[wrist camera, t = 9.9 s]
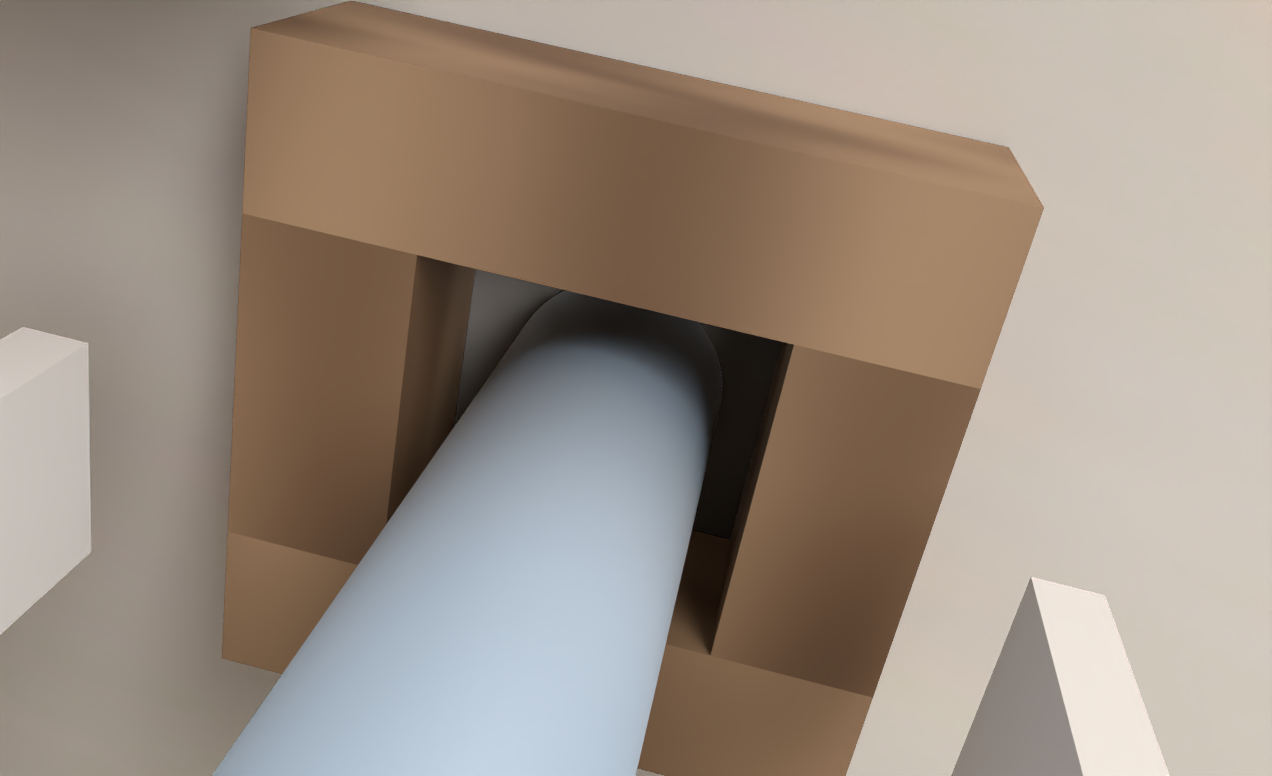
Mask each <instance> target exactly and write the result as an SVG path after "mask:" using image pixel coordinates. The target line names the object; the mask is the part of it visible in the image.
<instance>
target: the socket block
mask: <svg viewBox="0 0 1272 776" xmlns="http://www.w3.org/2000/svg"><path fill="white" fill-rule="evenodd" d="M1043 209H1044V207H1043V205H1042V204H1041V202H1040V200H1039V198H1038V197H1037V195H1036V193H1035V192H1034V190H1033V188H1032V186H1031V185H1030V183H1029V181H1028V179H1027V178H1026V176H1025V174H1024V173H1023V171H1022V169H1021V167H1020V166H1019V164H1018V162H1017V161H1016V159H1015V157H1014V155H1013V154H1012V152H1011V150H1010V149H1009V148H1008V147H1004V146H999V145H995V144H991V143H986V142H982V141H977V140H973V139H968V138H964V137H959V136H955V135H950V134H946V133H941V132H937V131H932V130H928V129H923V128H919V127H914V126H910V125H906V124H901V123H897V122H892V121H888V120H883V119H879V118H874V117H870V116H865V115H861V114H856V113H852V112H847V111H843V110H838V109H834V108H830V107H825V106H821V105H816V104H812V103H807V102H803V101H798V100H794V99H789V98H785V97H780V96H776V95H771V94H767V93H762V92H758V91H753V90H749V89H745V88H740V87H736V86H731V85H727V84H722V83H718V82H713V81H709V80H704V79H700V78H695V77H691V76H686V75H682V74H677V73H673V72H668V71H664V70H660V69H655V68H651V67H646V66H642V65H637V64H633V63H628V62H624V61H619V60H615V59H610V58H606V57H601V56H597V55H592V54H588V53H583V52H579V51H575V50H570V49H566V48H561V47H557V46H552V45H548V44H543V43H539V42H534V41H530V40H525V39H521V38H516V37H512V36H507V35H503V34H499V33H494V32H490V31H485V30H481V29H476V28H472V27H467V26H463V25H458V24H454V23H449V22H445V21H440V20H436V19H431V18H427V17H422V16H418V15H414V14H409V13H405V12H400V11H396V10H391V9H387V8H382V7H378V6H373V5H369V4H364V3H360V2H355V1H348V2H344V3H341V4H337V5H333V6H330V7H326V8H322V9H319V10H315V11H311V12H308V13H304V14H300V15H297V16H293V17H289V18H286V19H282V20H278V21H275V22H271V23H267V24H264V25H260V26H256V27H253V28H251V34H250V56H249V78H248V100H247V121H246V143H245V165H244V187H243V209H242V230H241V252H240V274H239V296H238V318H237V339H236V361H235V383H234V405H233V427H232V448H231V470H230V492H229V514H228V536H227V558H226V579H225V601H224V623H223V645H222V658H224V659H227V660H231V661H235V662H239V663H242V664H246V665H250V666H254V667H257V668H261V669H265V670H269V671H273V672H276V673H280V674H283V672H284V671H285V669H286V668H287V667H288V665H289V664H290V662H291V661H292V659H293V658H294V656H295V655H296V654H297V652H298V651H299V649H300V648H301V646H302V645H303V644H304V642H305V641H306V639H307V638H308V636H309V635H310V633H311V632H312V631H313V629H314V628H315V626H316V625H317V623H318V622H319V621H320V619H321V618H322V616H323V615H324V613H325V612H326V610H327V609H328V608H329V606H330V605H331V603H332V602H333V600H334V599H335V598H336V596H337V595H338V593H339V592H340V590H341V589H342V587H343V586H344V585H345V583H346V582H347V580H348V579H349V577H350V576H351V575H352V573H353V572H354V570H355V569H356V567H357V566H358V564H359V563H360V562H361V560H362V559H363V557H364V556H365V554H366V553H367V552H368V550H369V549H370V547H371V546H372V544H373V543H374V541H375V540H376V539H377V537H378V536H379V534H380V533H381V531H382V530H383V529H384V527H385V526H386V524H387V523H388V521H389V520H390V518H391V517H392V516H393V514H394V513H395V511H396V510H397V508H398V507H399V506H400V504H401V503H402V501H403V500H404V498H405V497H406V495H407V494H408V493H409V491H410V490H411V488H412V487H413V485H414V484H415V483H416V481H417V480H418V478H419V477H420V475H421V474H422V472H423V471H424V470H425V468H426V467H427V465H428V464H429V462H430V461H431V460H432V458H433V457H434V455H435V454H436V452H437V451H438V449H439V448H440V447H441V445H442V444H443V442H444V441H445V439H446V438H447V437H448V435H449V434H450V432H451V431H452V429H453V428H454V421H455V414H456V407H457V399H458V392H459V385H460V377H461V370H462V363H463V356H464V348H465V341H466V334H467V326H468V319H469V312H470V305H471V297H472V290H473V283H474V275H475V269H478V270H482V271H487V272H491V273H495V274H499V275H504V276H508V277H512V278H516V279H520V280H525V281H529V282H533V283H537V284H541V285H546V286H550V287H554V288H558V289H562V290H567V291H571V292H575V293H579V294H583V295H588V296H592V297H596V298H600V299H604V300H609V301H613V302H617V303H621V304H625V305H630V306H634V307H638V308H642V309H646V310H651V311H655V312H659V313H663V314H667V315H672V316H676V317H680V318H684V319H688V320H693V321H697V322H701V323H705V324H709V325H714V326H718V327H722V328H726V329H730V330H735V331H739V332H743V333H747V334H751V335H756V336H760V337H764V338H768V339H773V340H777V341H781V342H782V345H781V349H780V353H779V357H778V361H777V364H776V368H775V372H774V376H773V379H772V383H771V387H770V391H769V395H768V398H767V402H766V406H765V410H764V414H763V417H762V421H761V425H760V429H759V433H758V436H757V440H756V444H755V448H754V451H753V455H752V459H751V463H750V467H749V470H748V474H747V478H746V482H745V486H744V489H743V493H742V497H741V501H740V505H739V508H738V512H737V516H736V520H735V523H734V527H733V531H732V535H731V539H730V540H729V539H725V538H721V537H717V536H713V535H709V534H705V533H701V532H697V531H693V530H692V532H691V536H690V541H689V545H688V549H687V554H686V558H685V562H684V567H683V571H682V576H681V580H680V584H679V589H678V593H677V597H676V602H675V606H674V610H673V615H672V619H671V623H670V628H669V632H668V637H667V641H666V645H665V650H664V654H663V658H662V663H661V667H660V671H659V676H658V680H657V685H656V689H655V693H654V698H653V702H652V706H651V711H650V715H649V719H648V724H647V728H646V732H645V737H644V741H643V746H642V750H641V754H640V759H639V763H638V767H637V768H638V769H642V770H646V771H650V772H654V773H657V774H661V775H665V776H846V773H847V770H848V767H849V764H850V761H851V758H852V756H853V753H854V750H855V747H856V744H857V741H858V738H859V735H860V733H861V730H862V727H863V724H864V721H865V718H866V715H867V713H868V710H869V707H870V704H871V701H872V698H873V695H874V693H875V690H876V687H877V684H878V681H879V678H880V675H881V673H882V670H883V667H884V664H885V661H886V658H887V655H888V653H889V650H890V647H891V644H892V641H893V638H894V635H895V633H896V630H897V627H898V624H899V621H900V618H901V615H902V612H903V610H904V607H905V604H906V601H907V598H908V595H909V592H910V590H911V587H912V584H913V581H914V578H915V575H916V572H917V570H918V567H919V564H920V561H921V558H922V555H923V552H924V550H925V547H926V544H927V541H928V538H929V535H930V532H931V530H932V527H933V524H934V521H935V518H936V515H937V512H938V510H939V507H940V504H941V501H942V498H943V495H944V492H945V489H946V487H947V484H948V481H949V478H950V475H951V472H952V469H953V467H954V464H955V461H956V458H957V455H958V452H959V449H960V447H961V444H962V441H963V438H964V435H965V432H966V429H967V427H968V424H969V421H970V418H971V415H972V412H973V409H974V407H975V404H976V401H977V398H978V395H979V392H980V389H981V387H982V384H983V381H984V378H985V375H986V372H987V369H988V366H989V364H990V361H991V358H992V355H993V352H994V349H995V346H996V344H997V341H998V338H999V335H1000V332H1001V329H1002V326H1003V324H1004V321H1005V318H1006V315H1007V312H1008V309H1009V306H1010V304H1011V301H1012V298H1013V295H1014V292H1015V289H1016V286H1017V284H1018V281H1019V278H1020V275H1021V272H1022V269H1023V266H1024V264H1025V261H1026V258H1027V255H1028V252H1029V249H1030V246H1031V243H1032V241H1033V238H1034V235H1035V232H1036V229H1037V226H1038V223H1039V221H1040V218H1041V215H1042V212H1043Z"/></svg>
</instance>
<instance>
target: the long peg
mask: <svg viewBox="0 0 1272 776" xmlns="http://www.w3.org/2000/svg"><path fill="white" fill-rule="evenodd" d="M722 385H723V383H722V373H721V367H720V363H719V359H718V356H717V354H716V351H715V349H714V346H713V344H712V342H711V340H710V339H709V337H708V335H707V333H706V332H705V330H704V329H703V328H702V326H701V325H700V324H699V322H697V321H693V320H688V319H684V318H680V317H676V316H672V315H667V314H663V313H659V312H655V311H651V310H646V309H642V308H638V307H634V306H630V305H625V304H621V303H617V302H613V301H609V300H604V299H600V298H596V297H592V296H588V295H583V294H579V293H575V292H571V291H567V290H565V291H563V292H561V293H559V294H557V295H555V296H554V297H552V298H551V299H549V300H548V301H547V302H545V303H544V304H543V305H542V306H541V307H540V308H539V309H538V310H537V311H536V312H535V313H534V314H533V315H532V316H531V318H530V319H529V320H528V321H527V323H526V324H525V326H524V327H523V329H522V330H521V332H520V333H519V334H518V336H517V337H516V339H515V340H514V342H513V343H512V344H511V346H510V347H509V349H508V350H507V352H506V353H505V355H504V356H503V357H502V359H501V360H500V362H499V363H498V365H497V366H496V367H495V369H494V370H493V372H492V373H491V375H490V376H489V378H488V379H487V380H486V382H485V383H484V385H483V386H482V388H481V389H480V391H479V392H478V393H477V395H476V396H475V398H474V399H473V401H472V402H471V403H470V405H469V406H468V408H467V409H466V411H465V412H464V414H463V415H462V416H461V418H460V419H459V421H458V422H457V424H456V425H455V426H454V428H453V429H452V431H451V432H450V434H449V435H448V437H447V438H446V439H445V441H444V442H443V444H442V445H441V447H440V448H439V449H438V451H437V452H436V454H435V455H434V457H433V458H432V460H431V461H430V462H429V464H428V465H427V467H426V468H425V470H424V471H423V472H422V474H421V475H420V477H419V478H418V480H417V481H416V483H415V484H414V485H413V487H412V488H411V490H410V491H409V493H408V494H407V495H406V497H405V498H404V500H403V501H402V503H401V504H400V506H399V507H398V508H397V510H396V511H395V513H394V514H393V516H392V517H391V518H390V520H389V521H388V523H387V524H386V526H385V527H384V529H383V530H382V531H381V533H380V534H379V536H378V537H377V539H376V540H375V541H374V543H373V544H372V546H371V547H370V549H369V550H368V552H367V553H366V554H365V556H364V557H363V559H362V560H361V562H360V563H359V564H358V566H357V567H356V569H355V570H354V572H353V573H352V575H351V576H350V577H349V579H348V580H347V582H346V583H345V585H344V586H343V587H342V589H341V590H340V592H339V593H338V595H337V596H336V598H335V599H334V600H333V602H332V603H331V605H330V606H329V608H328V609H327V610H326V612H325V613H324V615H323V616H322V618H321V619H320V621H319V622H318V623H317V625H316V626H315V628H314V629H313V631H312V632H311V633H310V635H309V636H308V638H307V639H306V641H305V642H304V644H303V645H302V646H301V648H300V649H299V651H298V652H297V654H296V655H295V656H294V658H293V659H292V661H291V662H290V664H289V665H288V667H287V668H286V669H285V671H284V672H283V674H282V675H281V677H280V678H279V679H278V681H277V682H276V684H275V685H274V687H273V688H272V690H271V691H270V692H269V694H268V695H267V697H266V698H265V700H264V701H263V702H262V704H261V705H260V707H259V708H258V710H257V711H256V713H255V714H254V715H253V717H252V718H251V720H250V721H249V723H248V724H247V725H246V727H245V728H244V730H243V731H242V733H241V734H240V736H239V737H238V738H237V740H236V741H235V743H234V744H233V746H232V747H231V748H230V750H229V751H228V753H227V754H226V756H225V757H224V759H223V760H222V761H221V763H220V764H219V766H218V767H217V769H216V770H215V771H214V773H213V774H212V776H636V772H637V767H638V763H639V759H640V754H641V750H642V746H643V741H644V737H645V732H646V728H647V724H648V719H649V715H650V711H651V706H652V702H653V698H654V693H655V689H656V685H657V680H658V676H659V671H660V667H661V663H662V658H663V654H664V650H665V645H666V641H667V637H668V632H669V628H670V623H671V619H672V615H673V610H674V606H675V602H676V597H677V593H678V589H679V584H680V580H681V576H682V571H683V567H684V562H685V558H686V554H687V549H688V545H689V541H690V536H691V532H692V528H693V523H694V519H695V514H696V510H697V506H698V501H699V497H700V493H701V488H702V484H703V480H704V475H705V471H706V467H707V462H708V458H709V453H710V449H711V445H712V440H713V436H714V432H715V427H716V423H717V419H718V414H719V410H720V405H721V399H722Z"/></svg>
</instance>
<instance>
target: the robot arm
mask: <svg viewBox="0 0 1272 776" xmlns="http://www.w3.org/2000/svg"><path fill="white" fill-rule="evenodd" d="M90 553H91V499H90V423H89V348H88V343H86V342H82V341H78V340H74V339H70V338H66V337H62V336H58V335H54V334H50V333H46V332H42V331H38V330H34V329H30V328H26V327H21V328H20V329H18V330H16V331H14V332H12V333H11V334H9V335H7V336H5V337H4V338H2V339H0V635H1V634H2V633H3V632H4V631H5V630H6V629H7V628H8V627H9V626H11V625H12V624H13V623H14V622H15V621H16V620H17V619H18V618H19V617H20V616H22V615H23V614H24V613H25V612H26V611H27V610H28V609H29V608H30V607H31V606H33V605H34V604H35V603H36V602H37V601H38V600H39V599H40V598H41V597H42V596H44V595H45V594H46V593H47V592H48V591H49V590H50V589H51V588H52V587H53V586H55V585H56V584H57V583H58V582H59V581H60V580H61V579H62V578H63V577H64V576H66V575H67V574H68V573H69V572H70V571H71V570H72V569H73V568H74V567H75V566H76V565H78V564H79V563H80V562H81V561H82V560H83V559H84V558H85V557H86V556H87V555H89V554H90ZM951 776H1169V773H1168V770H1167V767H1166V764H1165V762H1164V759H1163V756H1162V753H1161V750H1160V748H1159V745H1158V742H1157V739H1156V736H1155V734H1154V731H1153V728H1152V725H1151V722H1150V720H1149V717H1148V714H1147V711H1146V708H1145V705H1144V703H1143V700H1142V697H1141V694H1140V691H1139V689H1138V686H1137V683H1136V680H1135V677H1134V675H1133V672H1132V669H1131V666H1130V663H1129V661H1128V658H1127V655H1126V652H1125V649H1124V647H1123V644H1122V641H1121V638H1120V635H1119V633H1118V630H1117V627H1116V624H1115V621H1114V619H1113V616H1112V613H1111V610H1110V607H1109V605H1108V602H1107V599H1106V596H1105V595H1102V594H1098V593H1094V592H1090V591H1086V590H1082V589H1078V588H1074V587H1070V586H1066V585H1062V584H1058V583H1054V582H1050V581H1046V580H1042V579H1038V578H1034V577H1031V578H1030V581H1029V583H1028V586H1027V588H1026V591H1025V593H1024V596H1023V598H1022V601H1021V603H1020V606H1019V608H1018V611H1017V613H1016V616H1015V618H1014V621H1013V623H1012V626H1011V628H1010V631H1009V633H1008V636H1007V638H1006V641H1005V643H1004V646H1003V648H1002V651H1001V653H1000V656H999V658H998V661H997V663H996V666H995V668H994V671H993V673H992V676H991V678H990V681H989V683H988V686H987V688H986V691H985V693H984V696H983V698H982V701H981V703H980V706H979V708H978V711H977V713H976V716H975V718H974V721H973V723H972V726H971V728H970V731H969V733H968V736H967V738H966V741H965V743H964V746H963V748H962V751H961V753H960V756H959V758H958V761H957V763H956V766H955V768H954V771H953V773H952V775H951Z"/></svg>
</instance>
